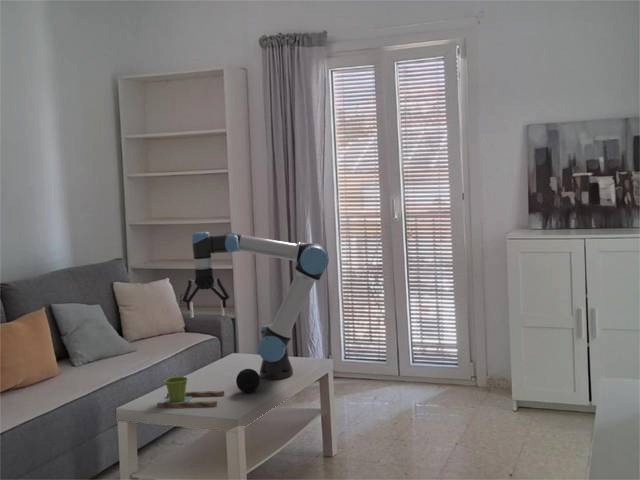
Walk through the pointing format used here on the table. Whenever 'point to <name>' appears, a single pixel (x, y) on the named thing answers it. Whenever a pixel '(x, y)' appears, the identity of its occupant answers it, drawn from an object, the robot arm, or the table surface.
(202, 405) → the pair of walnut rails
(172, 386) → the plant pot
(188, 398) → the marked pad
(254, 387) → the speaker
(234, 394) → the table surface
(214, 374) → the table surface
